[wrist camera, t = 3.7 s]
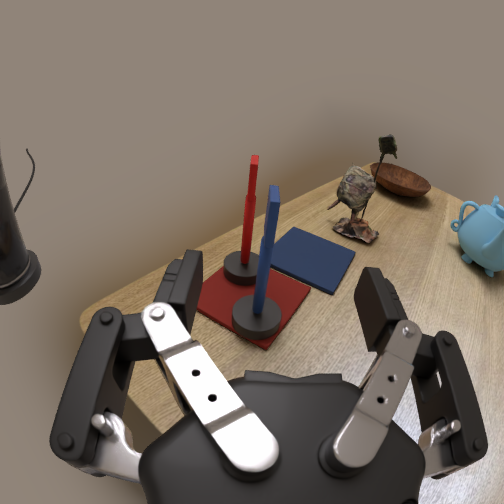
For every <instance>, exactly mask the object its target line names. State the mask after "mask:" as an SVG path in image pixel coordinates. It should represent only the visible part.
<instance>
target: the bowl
mask: <svg viewBox="0 0 504 504" xmlns="http://www.w3.org/2000/svg"><path fill="white" fill-rule="evenodd" d="M378 165H379V163H373V164H372V165H370V168H371V173H372V175H373V177H375V173H376V170H377V167H378ZM376 181H377V182H378V183H380V184H381V185H382V186H383V187H385V188H386V189H387V190H389V191H391V192H393V193H395V194H397V195H402V196H409V197H414V196H422V195H424V194H426V193H427V192H428V191H429V190H430V189H431V185H430V184H429V182H428V181H427V180H425V179H424V178H423V177H421V176H419V175H417V174H415V173H413V172H411V171H409V170H406V169H404V168H402V167H399V166H396V165H393V164H389V163H381V164H380V167H379V171H378V173H377V177H376Z"/></svg>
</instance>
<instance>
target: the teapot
mask: <svg viewBox="0 0 504 504" xmlns="http://www.w3.org/2000/svg"><path fill="white" fill-rule="evenodd" d="M498 203H499V198H498V196H495V197H494V200H493V202H492V204H491V206H489V205H486V204H485V205H482V206H480V207H479V206H478V205H477V204H476V203H475V202H473V201H466V202H464V203H463V204H462V206H461V209H460V214H459V221H458V220H456V219H455V220H453V221H452V222H451V228H452V230H453V231H455V232H458V238H459V243H460V246H461V248H462V249H463V251H464V252H465V254H463V255H462V256H461V257H462V259H463V260H464V261H465V262H467V263H471V262H472V261H473V260H474V261H475V262H476V263H478V264H479V265H481V266H482V267H484V268H485V273H486V274H487V275H488V276H490V277H493V276H494V271H495V272H497V271H501V270H504V207H502V206H501V205H499V204H498ZM468 205H470V206H473V207H474V208H475V210H474V211H472V212H471V213H470V214H469V215H468V216H467V217H466V218H465V219H464V220H463V214H464V210H465V208H466V206H468ZM462 221H463V222H462ZM454 223H457V224H458V226H457V227H455V226H454Z"/></svg>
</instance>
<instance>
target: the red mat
mask: <svg viewBox="0 0 504 504" xmlns="http://www.w3.org/2000/svg"><path fill="white" fill-rule="evenodd" d="M223 267H224V266H223ZM223 267H222V268H220V269H219V270H218V271H217V272H215V273H214V274H213V275H212V276H211V277H209V278H208V279H207V280H206V281H204V282H203V284H202V289H201V293H200V297H199V301H198V305H197V309H196V310H198V311H199V312H201V313H202V314H204V315H206V316H207V317H209V318H211V319H212V320H214V321H216V322H217V323H219V324H221V325H223V326H224V327H226V328H228V329H229V330H231V331H233V332H235V333H236V334H238V335H240V334H239V333H237V332H236V331H235V329H234V327H233V325H232V308H233V306H234V304H235V303H236V301H238V300H239V299H240V298H242V297H244V296H248V295H254V291H255V284H254V285H249V286H242V285H237V284H234V283H232V282H230V281H229V280H228V279H226V277H225V276H224V273H223ZM310 289H311V287H309V286H307V285H304V284H302V283H300V282H298V281H296V280H294V279H291V278H289V277H287V276H285V275H283V274H280V273H278V272H276V271H274V270H272V269H270V272H269V277H268V283H267V289H266V295H265V297H268V298H270V299H272V300H273V301H275V302H276V303H277V304H278V306H279V307H280V309H281V313H282V317H281V321H280V325H279V328H278V330H277V332H276V333H275V334H274V335H273V336H271V337H269V338H267V339H263V340H251V339H248V338H245V337H243V336H242V337H243V338H245V339H247V340H249V341H250V342H252V343H254V344H256V345H258V346H259V347H261V348H263V349H265V350H267V349H268V347H269V346H270V345H271V343H272V342H273V341H274V339H275V338H276V337H277V335H278V334H279V333H280V331H281V330H282V329H283V327H284V326H285V325H286V323H287V322H288V321H289V319H290V318H291V317H292V315H293V314H294V312H295V311H296V310H297V308H298V307H299V305H300V304H301V303H302V301H303V300H304V298H305V297H306V296H307V294H308V293H309V291H310ZM240 336H241V335H240Z"/></svg>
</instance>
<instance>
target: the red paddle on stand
mask: <svg viewBox="0 0 504 504" xmlns="http://www.w3.org/2000/svg"><path fill="white" fill-rule="evenodd" d="M258 159H259V156H258V155H252V157H251V164H250V174H249V185H248V194H247V196H246V201H245V212H244V223H243V235H242V246H241V251H236V252H233V253H231V254H229V255H227V256H226V258H225V259H224V267H223V273H224V276H225V277H226V279H228V280H229V281H230V282H232V283H234V284H237V285H242V286H249V285H254V284H256V277H257V269H258V262H259V255H257V254H255V253H253V252H250V250H251V240H252V231H253V222H254V213H255V204H256V196H255V189H256V179H257V170H258Z"/></svg>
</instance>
